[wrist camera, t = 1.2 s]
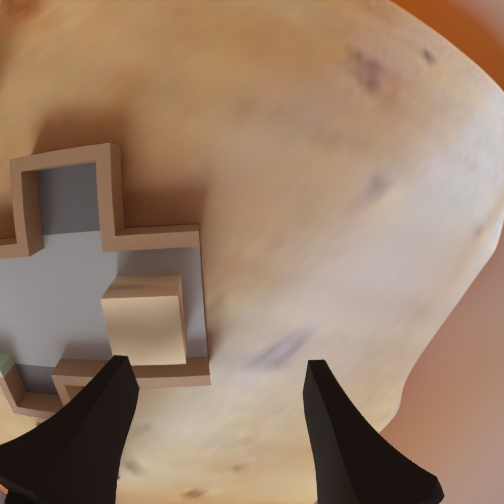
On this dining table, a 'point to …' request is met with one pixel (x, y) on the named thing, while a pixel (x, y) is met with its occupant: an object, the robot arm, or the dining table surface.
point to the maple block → (146, 318)
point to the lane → (82, 279)
